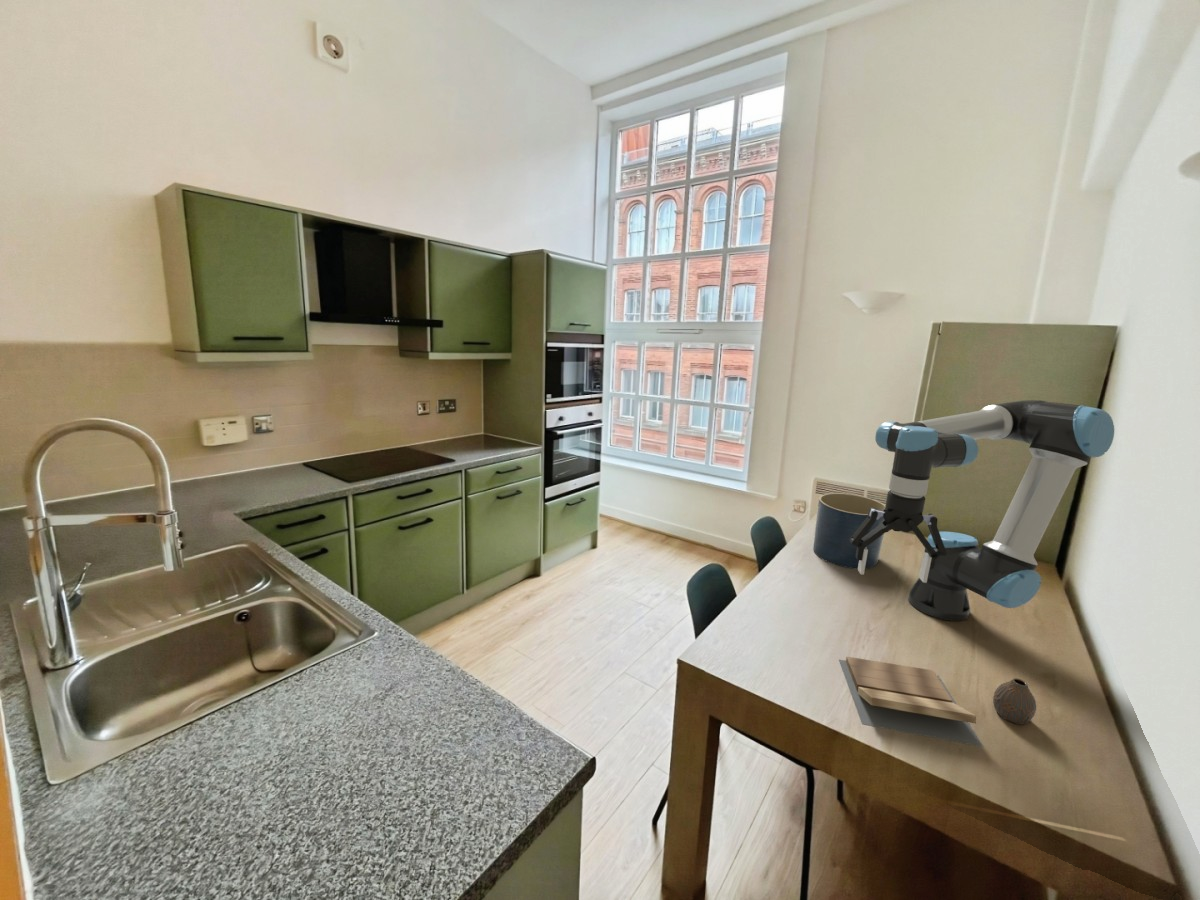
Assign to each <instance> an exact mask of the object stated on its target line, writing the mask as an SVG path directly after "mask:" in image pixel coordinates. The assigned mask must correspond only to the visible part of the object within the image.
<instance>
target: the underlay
mask: <svg viewBox="0 0 1200 900" xmlns="http://www.w3.org/2000/svg"><path fill="white" fill-rule="evenodd" d="M838 662H839V665H840V667H841V669H842V672H843V675H844V678H845V681H846V684H847V687H848V690H849V692H850V695H851V698H852V700H853V703H854V706H855V709H856V711H857V714H858V717H859V719H860V722H861V725H865V726H871V727H875V728H880V729H885V730H892V731H896V732H902V733H907V734H913V735H918V736H922V737H928V738H934V739H940V740H944V741H951V742H956V743H962V744H966V745H971V746H976V747H982V748H983V747H984V745H983V743H982V741H981V740H980V738H979V736H978V735H977V734H976V732H975V731H974V729H973V728H972V726H971V725H970V723H969V722H964V721H958V720H952V719H947V718H941V717H936V716H930V715H924V714H919V713H913V712H907V711H902V710H896V709H891V708H885V707H879V706H874V705H871V704H869V703H868V702H867V701H866V700H865V699H864V698H862V697H861V696H860V695H859V694H858V690H856V687H855V685H854V682H853V680H852V677H851V674H850V672H849V669H848V666H847V664H846V659H845V660H843V659H838ZM936 675H937V674H936ZM937 677H938V678H939V680H940V681H941V683H942V685H943V686H944V688H945V689H946V691H947V693H948V694H949V696H950V697H951V699H952V700H953V701H952V703H954V704H956V705H958V704H957V702H956V701H955V699H954V698H953V696H952V695H951V693H950V692H949V690H948V688H947V687H946V685H945V683H944V682H943V680H942V678H941V677H940V676H939V675H937Z"/></svg>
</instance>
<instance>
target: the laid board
mask: <svg viewBox="0 0 1200 900" xmlns="http://www.w3.org/2000/svg"><path fill="white" fill-rule="evenodd" d="M845 661H846V664H847V666H848V669H849V672H850V674H851V677H852V680H853V682H854V685H855V687H856V690H858V687H863V688H869V689H875V690H880V691H886V692H892V693H898V694H904V695H910V696H916V697H921V698H927V699H933V700H939V701H945V702H951V703H952V701H953V700H952V699H951V697H950V696H949V694H948V693H947V691H946V689H945V688H944V686H943V685H942V683H941V681H940V680H939V678H938V677H937V673H936V671H935V670H934V669H928V668H921V667H915V666H909V665H908V666H907V665H902V664H897V663H889V662H883V661H878V660H871V659H865V658H859V657H851V656H846V658H845Z"/></svg>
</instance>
